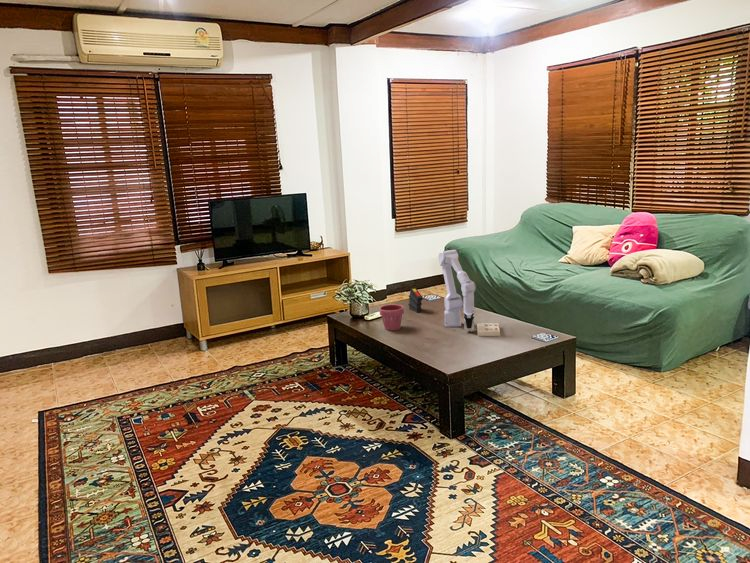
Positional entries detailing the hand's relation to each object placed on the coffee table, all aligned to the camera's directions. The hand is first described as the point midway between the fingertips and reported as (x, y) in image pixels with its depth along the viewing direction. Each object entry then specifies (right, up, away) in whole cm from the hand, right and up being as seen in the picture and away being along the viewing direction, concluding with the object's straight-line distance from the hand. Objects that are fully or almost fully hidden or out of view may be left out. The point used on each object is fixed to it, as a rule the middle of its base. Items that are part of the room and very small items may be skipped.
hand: (469, 326), depth 319 cm
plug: (0, -3, +1) cm, 3 cm away
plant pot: (-43, -2, +14) cm, 45 cm away
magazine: (-26, +6, +47) cm, 55 cm away
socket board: (+11, -3, -1) cm, 11 cm away
